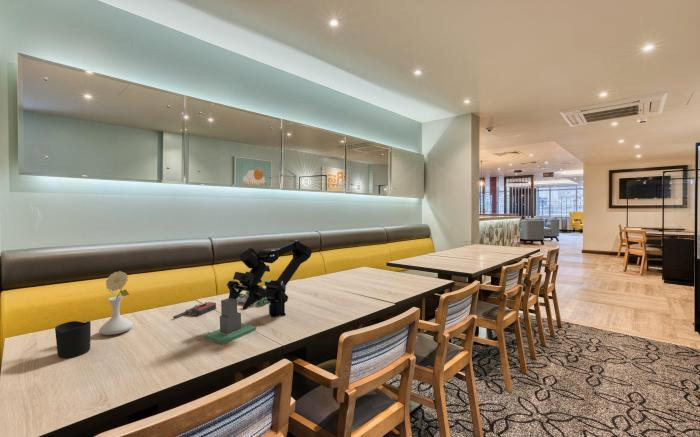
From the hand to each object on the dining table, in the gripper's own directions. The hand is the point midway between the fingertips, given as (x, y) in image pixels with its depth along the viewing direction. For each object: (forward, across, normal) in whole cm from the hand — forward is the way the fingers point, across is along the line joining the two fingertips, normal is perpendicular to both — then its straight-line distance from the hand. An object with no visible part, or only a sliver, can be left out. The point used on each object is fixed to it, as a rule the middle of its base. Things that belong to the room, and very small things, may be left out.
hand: (235, 307), depth 132 cm
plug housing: (+8, 0, +4) cm, 9 cm away
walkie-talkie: (+4, -34, +12) cm, 36 cm away
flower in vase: (+24, -40, -10) cm, 48 cm away
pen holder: (+36, -33, -22) cm, 54 cm away
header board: (+9, 0, +5) cm, 10 cm away
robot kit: (-19, -24, +34) cm, 46 cm away
